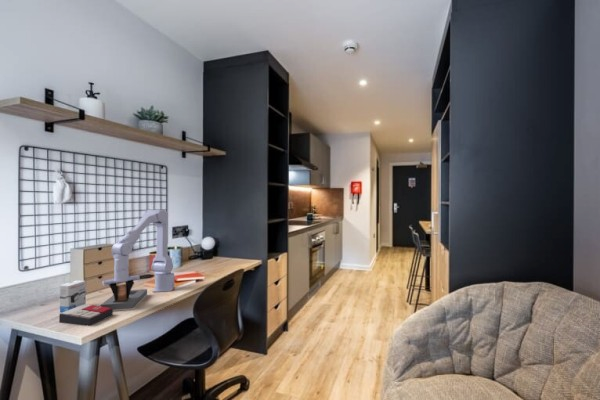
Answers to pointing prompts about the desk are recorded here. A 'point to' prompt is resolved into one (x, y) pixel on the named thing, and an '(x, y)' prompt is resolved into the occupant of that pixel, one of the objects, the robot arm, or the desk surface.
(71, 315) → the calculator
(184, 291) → the desk surface
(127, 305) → the board
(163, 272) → the robot arm
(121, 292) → the peg
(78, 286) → the ink box
